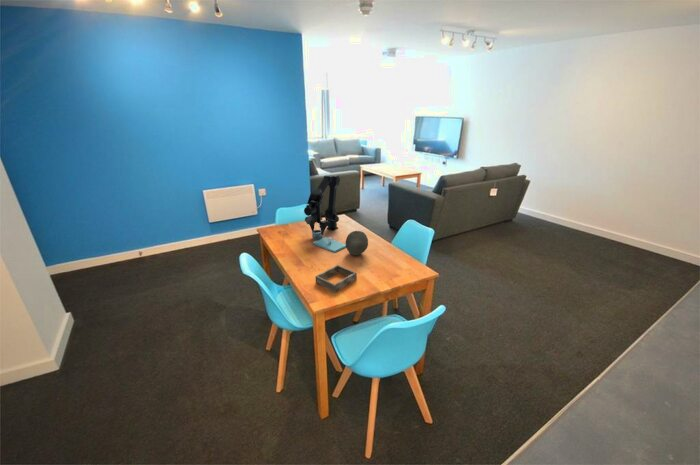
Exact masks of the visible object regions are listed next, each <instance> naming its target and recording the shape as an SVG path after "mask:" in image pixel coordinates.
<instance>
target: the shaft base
mask: <svg viewBox="0 0 700 465" xmlns="http://www.w3.org/2000/svg"><path fill="white" fill-rule="evenodd" d="M312 245H315V246H317V247H320V248H322V249H325V250H327V251H330V252H332V253H337V252H339V251H342V250H343V249H345V248H346V243H343V242H341V241H338V240H335V239H332V237H330V236H329V237H326V236H325V237H323V238H322V239H320V240H314V241H312ZM346 249H347V248H346Z"/></svg>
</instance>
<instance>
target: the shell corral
mask: <svg viewBox="0 0 700 465" xmlns="http://www.w3.org/2000/svg"><path fill="white" fill-rule="evenodd" d="M337 273H338V274H341V275H343V276H346V277H344V278H343V279H341V280H339V281H338V282H336V283H334V282H331V281H329V280H327V279H329V278H330V277H332V276H334V275H336V274H337ZM357 276H358V274H357V272H356V271H354V270H352V269H350V268H346V267H344V266H342V265H339V264H336V265H334V266H333V267H331V268H329V269H326V270H325V271H323V272H321V273H319V274H316V275H315V284H316V285H318V286H321V287H322V288H325V289H326V290H329V291H331V292H332V293H338V291H340V290H342V289H344V288H345V287H347V286H349V285H350V284H352V283H353V282H354V281H356V280H357V278H358V277H357Z"/></svg>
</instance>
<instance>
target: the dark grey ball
mask: <svg viewBox="0 0 700 465" xmlns="http://www.w3.org/2000/svg"><path fill="white" fill-rule="evenodd" d="M345 244H346V249H347V251H348V253H349V254H351V255H354V256H358V255H362V254H364V252H365V251H366V250H367V248H368V246H369V239H368V236H367V234H366V233H365V232H363V231H361V230H353V231H351V232H349V234H348V235H347V236H346V238H345Z"/></svg>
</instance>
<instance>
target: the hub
mask: <svg viewBox="0 0 700 465" xmlns="http://www.w3.org/2000/svg"><path fill="white" fill-rule="evenodd" d="M323 235H324V234H323ZM323 235H321V229H314V230H313V231H312V230H311V236H312V238H311V239H312V240H314V241H318V240H320V239H322V238H324V236H323Z"/></svg>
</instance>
